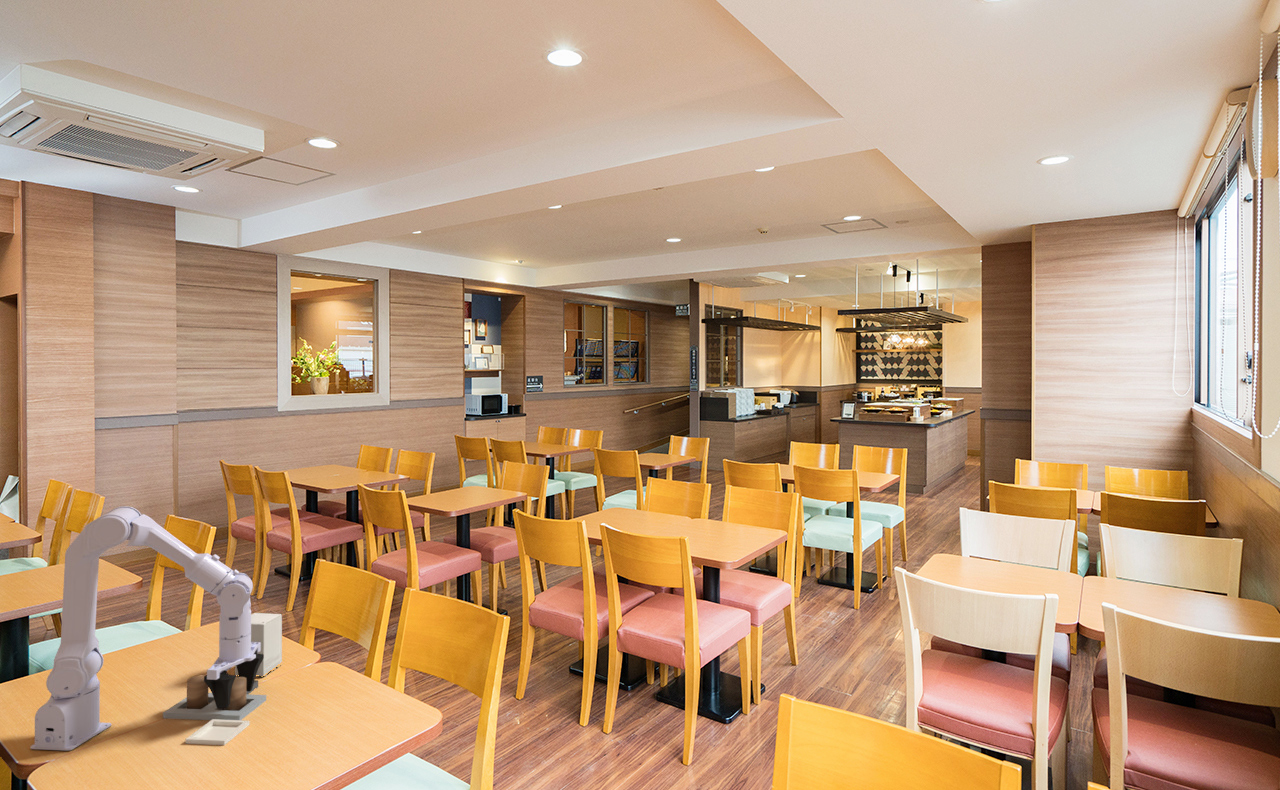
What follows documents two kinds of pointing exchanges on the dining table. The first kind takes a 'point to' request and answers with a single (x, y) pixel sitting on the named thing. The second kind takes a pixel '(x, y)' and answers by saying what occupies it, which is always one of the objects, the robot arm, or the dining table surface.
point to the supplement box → (267, 640)
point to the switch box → (253, 686)
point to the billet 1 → (197, 693)
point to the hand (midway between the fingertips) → (234, 699)
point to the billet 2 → (238, 694)
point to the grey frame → (213, 710)
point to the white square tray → (217, 732)
